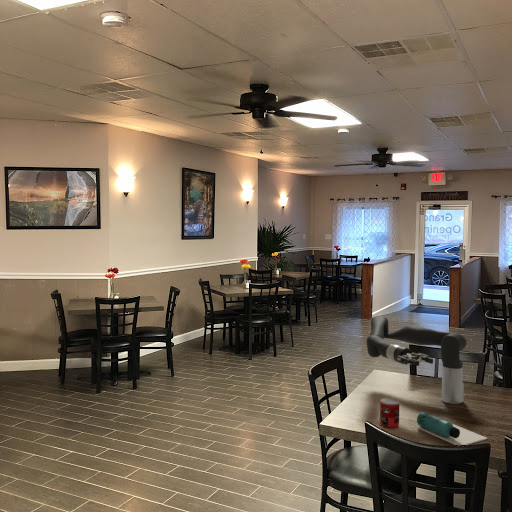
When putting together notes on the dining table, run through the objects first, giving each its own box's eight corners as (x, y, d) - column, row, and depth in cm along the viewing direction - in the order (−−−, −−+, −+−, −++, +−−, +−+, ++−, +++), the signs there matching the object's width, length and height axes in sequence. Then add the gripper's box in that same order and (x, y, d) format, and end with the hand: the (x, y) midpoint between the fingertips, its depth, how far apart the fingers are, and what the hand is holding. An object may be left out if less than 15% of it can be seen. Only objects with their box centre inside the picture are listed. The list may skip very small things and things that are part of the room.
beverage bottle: (426, 416, 229) (465, 432, 211) (418, 428, 226) (456, 445, 209) (419, 407, 226) (458, 421, 209) (411, 419, 224) (449, 435, 207)
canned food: (377, 422, 230) (378, 397, 230) (395, 422, 231) (395, 397, 230) (383, 429, 223) (383, 403, 222) (401, 429, 223) (402, 403, 223)
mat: (417, 427, 225) (417, 426, 225) (443, 421, 232) (443, 420, 232) (459, 447, 205) (460, 445, 205) (487, 439, 213) (487, 438, 213)
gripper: (409, 360, 248) (436, 369, 234) (386, 363, 241) (413, 373, 227) (410, 344, 248) (437, 352, 234) (387, 347, 241) (414, 355, 227)
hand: (425, 362), depth 230 cm, fingers open, 8 cm apart
